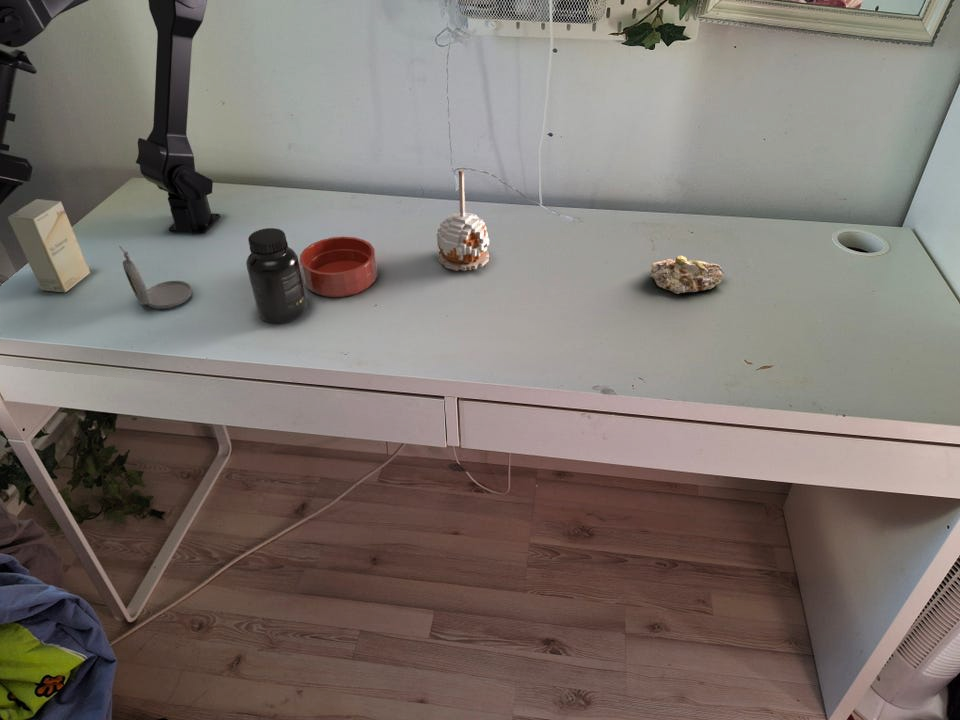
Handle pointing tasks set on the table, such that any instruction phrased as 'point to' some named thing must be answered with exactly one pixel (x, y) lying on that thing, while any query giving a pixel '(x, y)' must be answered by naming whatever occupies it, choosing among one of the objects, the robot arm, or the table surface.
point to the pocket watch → (155, 288)
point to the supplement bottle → (275, 277)
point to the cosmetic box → (49, 245)
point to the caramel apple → (463, 238)
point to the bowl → (338, 266)
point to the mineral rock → (686, 275)
